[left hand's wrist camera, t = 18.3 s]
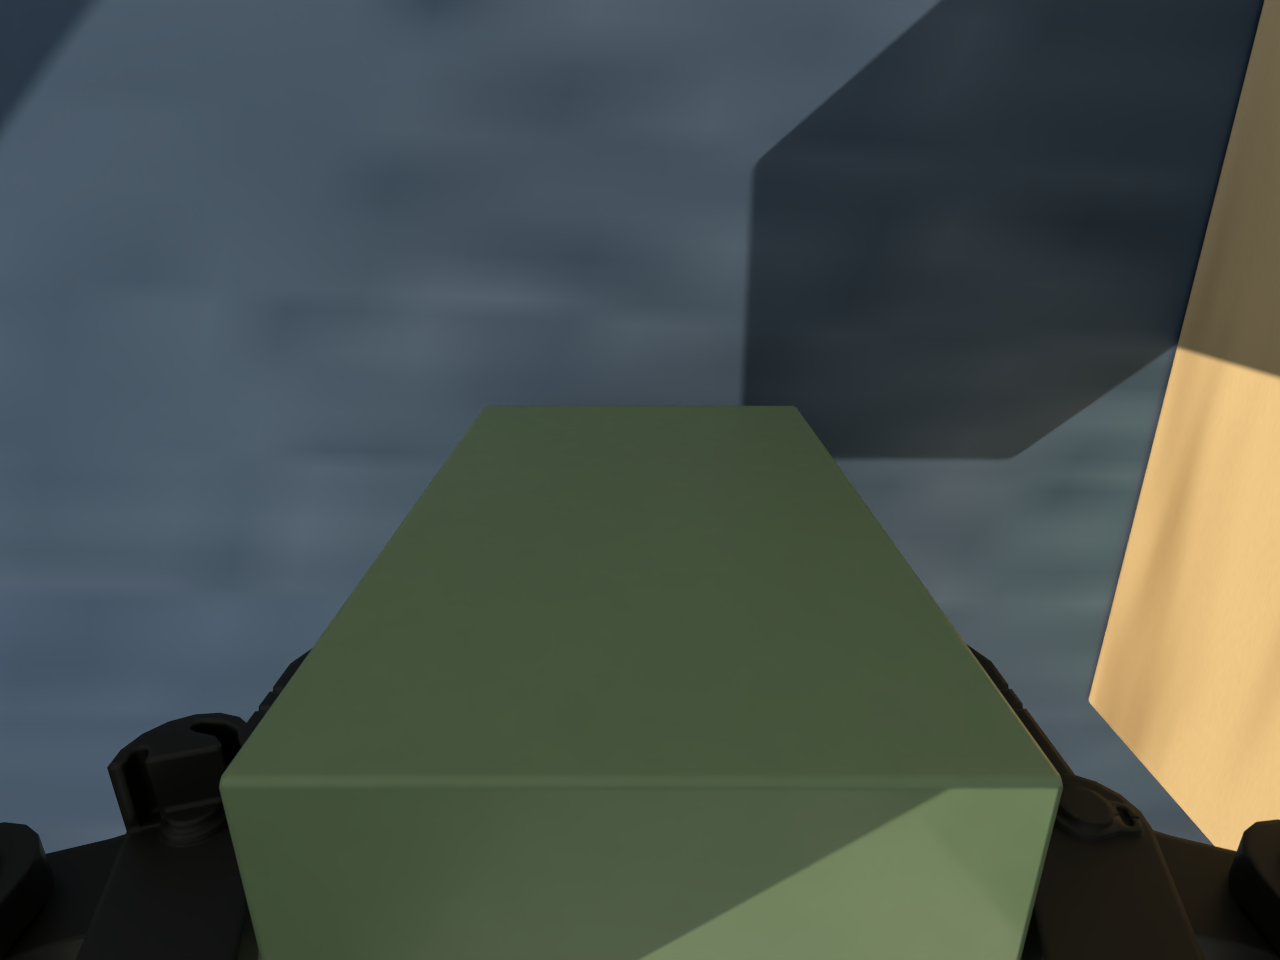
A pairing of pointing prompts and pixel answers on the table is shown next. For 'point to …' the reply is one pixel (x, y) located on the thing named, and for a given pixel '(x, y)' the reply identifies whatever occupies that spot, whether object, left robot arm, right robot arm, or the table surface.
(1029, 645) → the table surface
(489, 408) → the cap block
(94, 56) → the table surface
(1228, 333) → the plank
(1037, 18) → the table surface
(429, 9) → the table surface
